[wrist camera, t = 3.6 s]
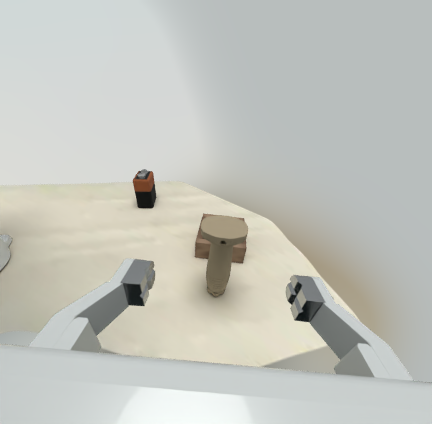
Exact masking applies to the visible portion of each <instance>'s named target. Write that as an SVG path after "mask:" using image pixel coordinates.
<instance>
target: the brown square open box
mask: <svg viewBox="0 0 432 424" xmlns="http://www.w3.org/2000/svg"><path fill="white" fill-rule="evenodd" d="M209 216H216V215H211V214H203V217H202V220H201V223H202V221H203V219H204V218H206V217H209ZM234 218H236V217H234ZM237 219H240V220H242V221H244V218H237ZM210 245H211V242H209V241H207V240H206V239H204V238H203V237H202V235H201V224H200V228H199V231H198V235H197V238H196V242H195V257H198V258H205V259H208V258H209V252H210ZM245 252H246V240H245V241H244V242H243V243H241V244H238V245H234V246H233V252H232V261H231V262H236V263H243V260H244V256H245Z"/></svg>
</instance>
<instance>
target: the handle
mask: <svg viewBox="0 0 432 424" xmlns="http://www.w3.org/2000/svg"><path fill="white" fill-rule="evenodd" d="M247 233H248V226H247V224H246V223H245V222H244V221H242V220H240V219H237V218H234V217H230V216H222V215H216V216H209V217H206V218H204V219H203V221H202V223H201V235H202V237H203V238H204V239H206V240H207V241H209V242H211V245H210V252H209V258H208V263H207V271H206V279H207V285H208V287H207V290H208V292H209V293H212V294H213V296H215V297H217V296H218V295H219V294H223V293H224V291H225V287H226V285H227V283H228V280H229V277H230V271H231V261H232V252H233V246H234V245H238V244H241V243H243V242H244V241H245V240H246V237H247Z"/></svg>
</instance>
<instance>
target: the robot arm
mask: <svg viewBox="0 0 432 424" xmlns="http://www.w3.org/2000/svg"><path fill="white" fill-rule="evenodd" d="M11 241H12V238H11V237H10V236H9V235H0V270H1V269H2V268H3V267H4V266H5V265H6V263H7V262H8V260H9V258H10V251H9V245H10V243H11ZM153 268H154V262H153V261H146V260H138V259H129V258H127V259H125V260H124V261H123V263H122V264H121V266H120V267H119V269H118V270H117V272H116V273H115V275H114V276H113V278H112V279H111V281H110V282H106V283H104V284H103V285H101V286H99V287H98V288H96V289H94V290H93V291H91V292H90V293H88V294H86V295H85V296H83V297H82V298H80V299H78V300H77V301H75V302H73V303H72V304H70V305H69V306H67V307H65V308H64V309H62V310H61V311H59V312H57V313H56V314H55V315H54V316H53V317H52V318H51V319H50V321H49V322H48V323H47V324H46V325H45V327H44V328H43V329H42V330H41V331H40V332H39V334H38V335H37V336H36V337H35V338H34V340H33V341H32V342H31V343H30V345H29V346H17V345H8V344H0V424H432V383H431V382H420V381H414V380H413V379H412V377H411V376H410V374H409V373H408V371H407V370H406V369H405V367H404V366H403V365H402V363H401V362H400V360H399V359H398V358H397V356H396V355H395V353H394V352H393V350H392V349H391V348H390V346H389V345H388V344H387V343H385V342H384V341H383V340H382V339H381V338H379V337H378V336H377V335H375V334H374V333H373V332H372V331H371V330H369V329H368V328H367V327H366V326H365V325H363V324H362V323H361V322H360V321H358V320H357V319H356V318H355V317H354V316H352V315H351V314H350V313H349V312H347V311H346V310H345V309H344V308H343V307H341V306H340V305H339V304H336V303H335V302H334V300H333V298H332V297H331V295H330V293H329V291H328V290H327V288H326V286H325V285H324V283H323V281H322V280H321V279H320V278H319V277H309V276H298V275H293V276H291V278H290V281H291V282H290V283H289V284H288V285H287V287H286V297H287V300H288V302H289V303H290V304H291V305H292V306H291V308H290V309H291V312H292V315H293V317H294V320H295V321H303V322H310V324H311V325H312V327H313V328H314V329H315V330H316V331H317V333H318V334H319V335H320V336H321V337H322V338H323V340H324V341H325V342H326V343H327V344H328V346H329V347H330V348H331V349H332V350H333V351H334V353H335V354H336V355H337V356H338V358H339V359H340V361H339V362H338V363H337V364H336V365H335V366H334V370H335V372H336V374H331V373H320V372H309V371H298V370H286V369H275V368H265V367H253V366H242V365H231V364H220V363H209V362H198V361H187V360H176V359H164V358H153V357H142V356H131V355H120V354H108V353H99V350H100V349H101V344H100V342H99V340H98V338H97V335H98V334H99V333H100V332H101V331H102V330H103V329H104V328H105V327H107V326H108V325H109V324H110V323H111V322H112V321H113V320H114V319H115V318H116V317H117V316H118V315H120V314H121V313H122V312H123V311H124V310H125V309H126V308H127V307H128V305H134V306H145V303H146V301H147V299H148V296H149V291H148V290H150V289H151V288H152V286H153V284H154V280H155V271H154V270H153Z"/></svg>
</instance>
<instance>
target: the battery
mask: <svg viewBox="0 0 432 424" xmlns="http://www.w3.org/2000/svg"><path fill="white" fill-rule="evenodd" d="M133 184H134V189H135V194H136V199H137V204H138V207H139V208H153V206H154V203H155V199H156V191H155V184H154V176H153V172H152V171H147V170H145V169H144V170H141V171H139V172H138V173H137V174H136V176H135V178H134V179H133Z"/></svg>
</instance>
